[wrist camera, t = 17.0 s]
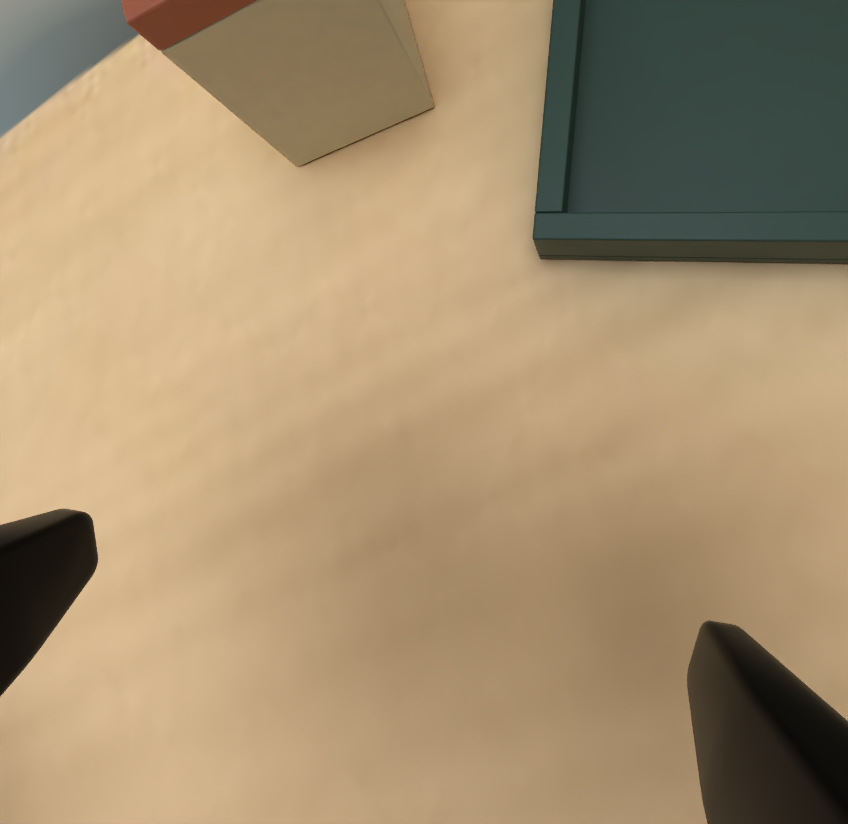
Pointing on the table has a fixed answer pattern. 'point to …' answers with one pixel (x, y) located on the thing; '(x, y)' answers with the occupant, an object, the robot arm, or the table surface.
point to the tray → (695, 132)
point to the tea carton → (295, 64)
